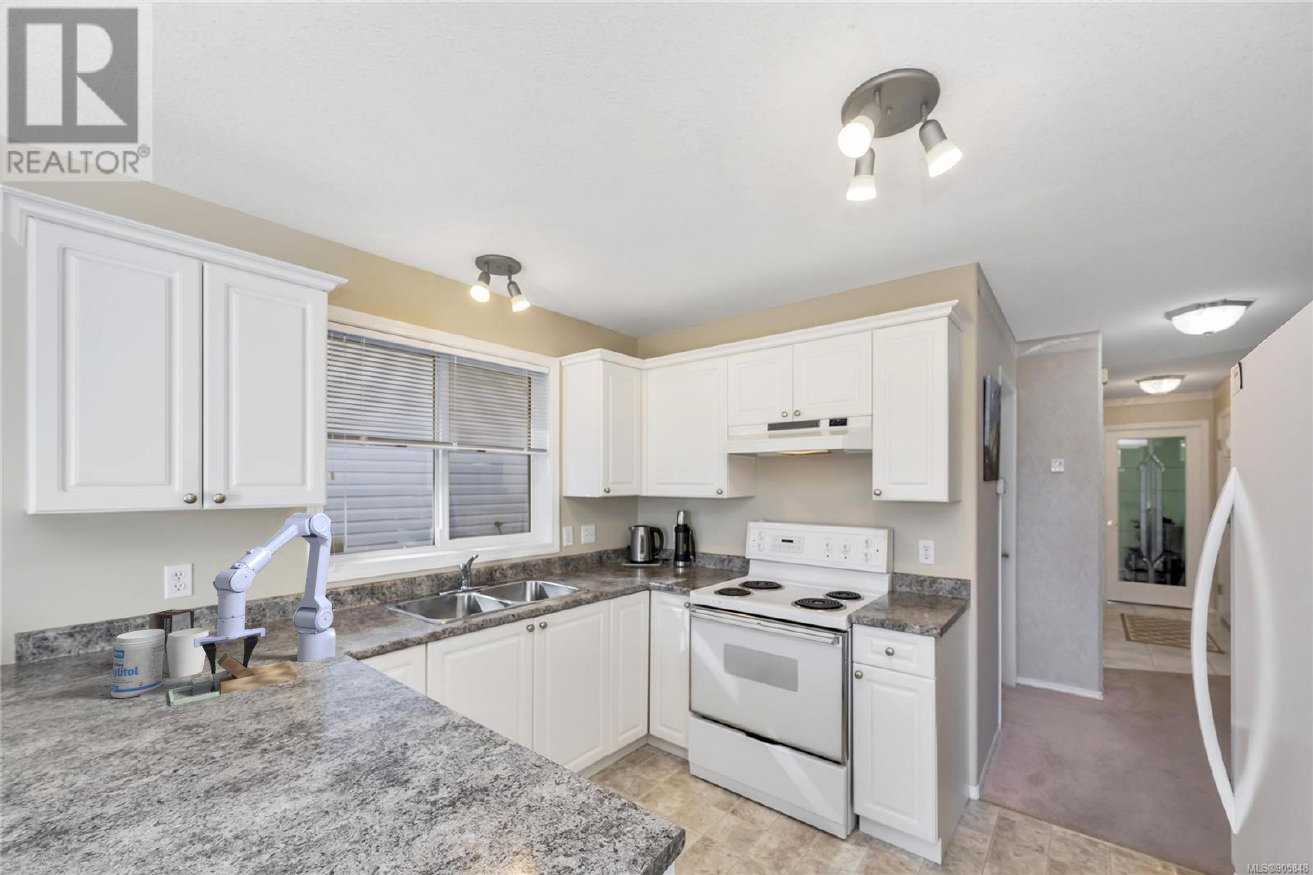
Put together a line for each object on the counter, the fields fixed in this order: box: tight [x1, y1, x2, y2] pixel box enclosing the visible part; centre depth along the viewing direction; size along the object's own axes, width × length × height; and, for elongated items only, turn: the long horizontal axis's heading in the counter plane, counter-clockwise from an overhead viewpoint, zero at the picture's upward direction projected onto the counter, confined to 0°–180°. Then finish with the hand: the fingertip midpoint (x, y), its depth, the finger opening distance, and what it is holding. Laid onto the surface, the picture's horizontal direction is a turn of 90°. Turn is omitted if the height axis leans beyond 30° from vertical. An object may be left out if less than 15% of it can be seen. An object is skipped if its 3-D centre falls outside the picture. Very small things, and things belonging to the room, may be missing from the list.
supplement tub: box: [110, 628, 165, 699], centre depth 144 cm, size 10×10×15 cm
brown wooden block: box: [217, 652, 257, 678], centre depth 145 cm, size 2×5×9 cm
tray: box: [167, 680, 220, 707], centre depth 139 cm, size 9×11×2 cm
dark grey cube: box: [190, 676, 212, 697], centre depth 140 cm, size 4×4×4 cm
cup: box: [166, 627, 209, 679], centre depth 155 cm, size 9×9×12 cm
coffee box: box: [148, 608, 195, 674], centre depth 162 cm, size 9×6×16 cm
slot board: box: [219, 660, 298, 695], centre depth 147 cm, size 16×10×3 cm, turn 133°
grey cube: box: [212, 670, 232, 692], centre depth 143 cm, size 4×4×4 cm
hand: (229, 670), depth 144 cm, fingers open, 6 cm apart
